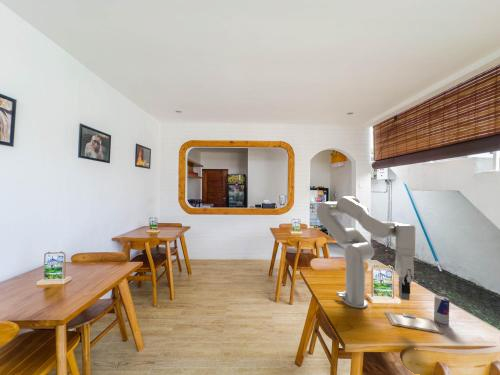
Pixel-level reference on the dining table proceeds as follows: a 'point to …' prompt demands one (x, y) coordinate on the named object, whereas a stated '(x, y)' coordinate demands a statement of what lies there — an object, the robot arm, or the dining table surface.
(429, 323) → the clipboard
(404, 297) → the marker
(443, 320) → the energy drink
